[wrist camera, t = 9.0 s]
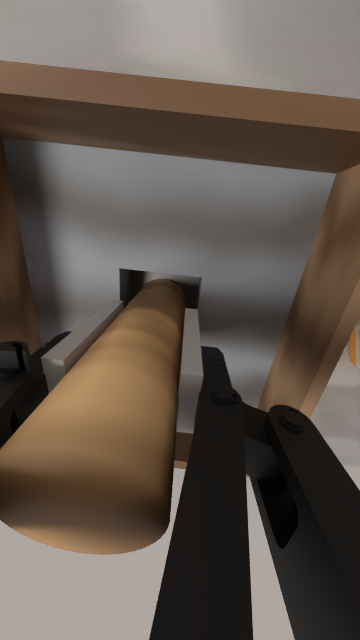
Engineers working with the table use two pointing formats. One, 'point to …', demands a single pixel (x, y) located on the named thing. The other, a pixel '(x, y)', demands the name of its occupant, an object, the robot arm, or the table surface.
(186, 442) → the box
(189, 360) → the robot arm
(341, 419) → the table surface
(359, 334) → the supplement box
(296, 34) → the table surface
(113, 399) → the dowel
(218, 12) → the table surface
